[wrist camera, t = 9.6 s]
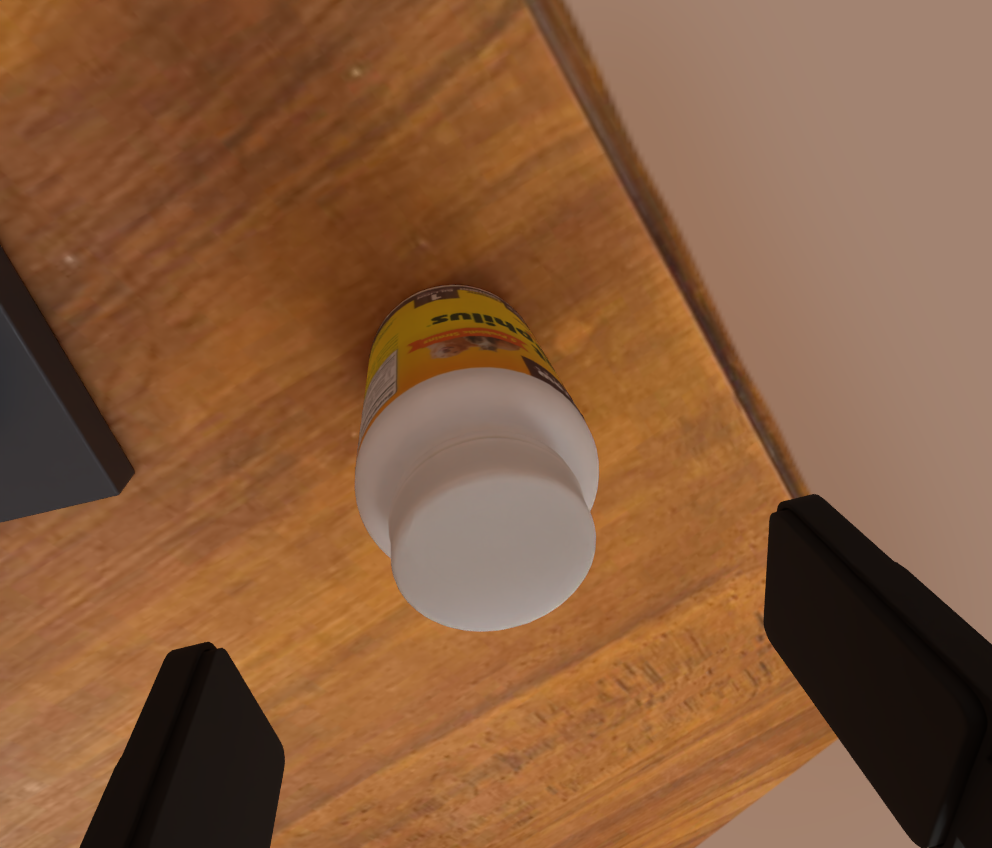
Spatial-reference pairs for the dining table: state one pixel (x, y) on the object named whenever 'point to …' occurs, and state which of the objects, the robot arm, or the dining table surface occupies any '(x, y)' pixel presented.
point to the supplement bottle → (474, 463)
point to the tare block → (47, 417)
